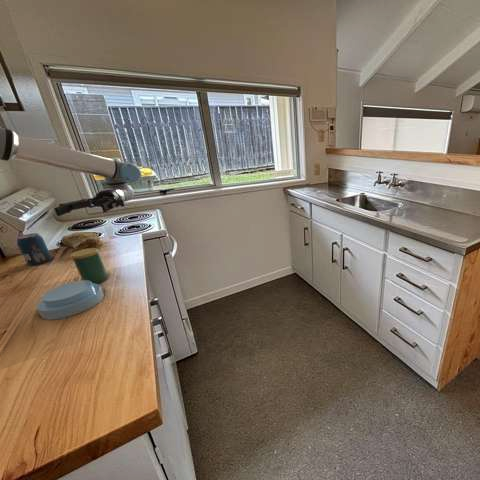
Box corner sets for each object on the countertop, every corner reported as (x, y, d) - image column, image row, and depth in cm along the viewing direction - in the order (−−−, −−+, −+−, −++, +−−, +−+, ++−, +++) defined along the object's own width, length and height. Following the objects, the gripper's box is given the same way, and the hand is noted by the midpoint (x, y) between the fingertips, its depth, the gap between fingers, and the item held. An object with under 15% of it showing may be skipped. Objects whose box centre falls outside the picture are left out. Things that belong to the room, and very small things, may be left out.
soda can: (42, 259, 107) (29, 232, 103) (57, 259, 107) (45, 232, 102) (23, 267, 101) (9, 239, 96) (40, 267, 100) (26, 238, 96)
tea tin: (82, 288, 85) (69, 258, 81) (84, 279, 90) (72, 251, 86) (107, 281, 88) (96, 252, 84) (109, 274, 93) (98, 246, 89)
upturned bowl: (34, 326, 67) (26, 311, 65) (47, 301, 78) (40, 287, 76) (102, 306, 74) (96, 292, 73) (105, 286, 85) (100, 273, 83)
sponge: (107, 249, 119) (97, 232, 130) (97, 236, 114) (89, 219, 125) (71, 263, 111) (65, 243, 123) (60, 249, 106) (54, 230, 118)
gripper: (145, 204, 112) (124, 217, 93) (78, 209, 106) (41, 224, 87) (140, 187, 109) (118, 196, 90) (71, 191, 104) (31, 202, 85)
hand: (80, 210), depth 89 cm, fingers open, 13 cm apart
